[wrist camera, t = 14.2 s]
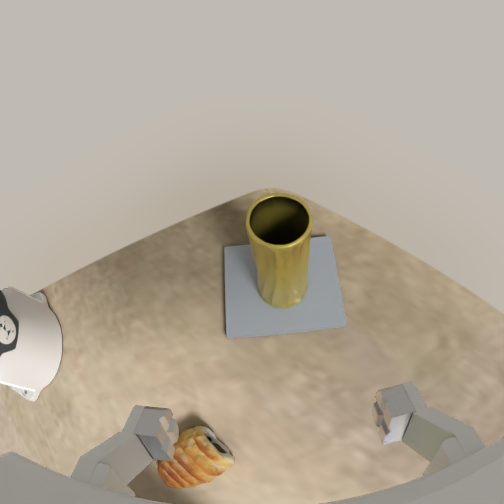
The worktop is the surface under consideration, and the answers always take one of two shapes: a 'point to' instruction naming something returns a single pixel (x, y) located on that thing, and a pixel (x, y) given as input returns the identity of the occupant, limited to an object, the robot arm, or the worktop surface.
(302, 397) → the worktop surface
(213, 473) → the pastry
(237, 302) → the tile
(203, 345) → the worktop surface
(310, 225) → the vase
